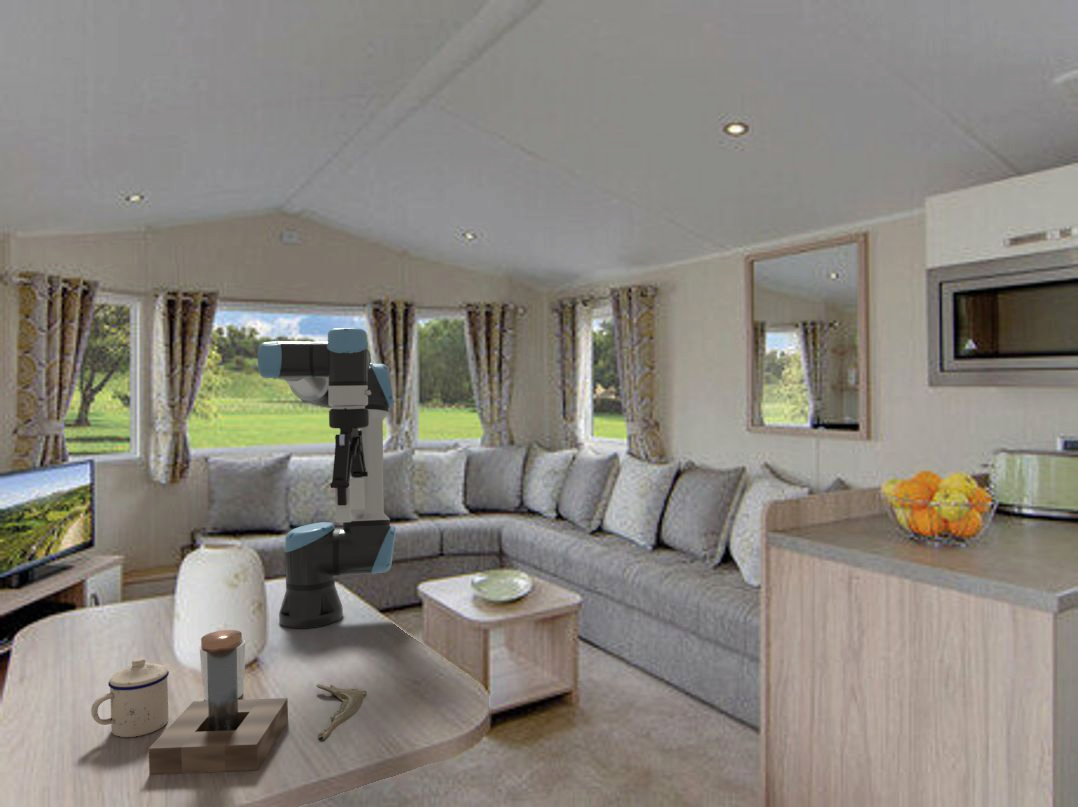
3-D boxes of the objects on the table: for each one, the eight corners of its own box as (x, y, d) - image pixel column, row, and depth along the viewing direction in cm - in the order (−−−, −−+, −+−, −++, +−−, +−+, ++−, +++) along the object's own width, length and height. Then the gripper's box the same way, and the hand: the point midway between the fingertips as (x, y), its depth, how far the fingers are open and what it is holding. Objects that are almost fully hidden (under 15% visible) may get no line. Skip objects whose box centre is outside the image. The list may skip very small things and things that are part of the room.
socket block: (194, 724, 125) (193, 701, 125) (288, 720, 126) (287, 698, 126) (149, 774, 109) (148, 748, 109) (257, 770, 110) (256, 744, 110)
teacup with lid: (155, 709, 131) (153, 645, 130) (179, 723, 125) (177, 657, 125) (81, 735, 121) (79, 667, 121) (104, 752, 116) (102, 680, 115)
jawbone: (364, 689, 140) (364, 679, 140) (374, 740, 121) (374, 728, 121) (315, 692, 138) (316, 682, 138) (317, 745, 118) (318, 733, 118)
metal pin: (212, 737, 120) (210, 630, 120) (249, 735, 121) (246, 629, 120) (197, 755, 114) (194, 643, 114) (236, 754, 115) (233, 642, 114)
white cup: (236, 684, 142) (235, 633, 141) (253, 696, 136) (252, 643, 136) (194, 696, 136) (193, 644, 136) (210, 709, 130) (208, 655, 130)
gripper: (355, 409, 129) (357, 527, 130) (378, 405, 154) (380, 503, 155) (313, 410, 129) (315, 528, 129) (342, 405, 154) (344, 504, 154)
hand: (350, 515), depth 142 cm, fingers open, 13 cm apart
